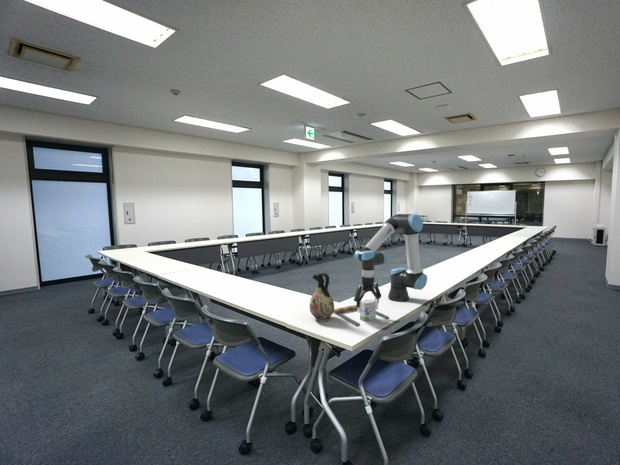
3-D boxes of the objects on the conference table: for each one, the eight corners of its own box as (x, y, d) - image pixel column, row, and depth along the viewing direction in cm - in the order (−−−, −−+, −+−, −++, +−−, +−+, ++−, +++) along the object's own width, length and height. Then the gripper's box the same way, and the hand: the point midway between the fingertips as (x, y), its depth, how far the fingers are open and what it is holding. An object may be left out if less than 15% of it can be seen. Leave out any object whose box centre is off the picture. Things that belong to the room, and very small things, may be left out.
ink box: (371, 317, 188) (371, 298, 187) (376, 319, 183) (376, 301, 182) (359, 319, 185) (359, 300, 184) (364, 322, 180) (364, 302, 179)
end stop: (363, 306, 207) (363, 303, 207) (366, 308, 205) (366, 304, 205) (333, 313, 196) (333, 309, 196) (335, 314, 193) (335, 310, 193)
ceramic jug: (304, 319, 186) (303, 271, 183) (321, 312, 197) (321, 268, 194) (324, 326, 174) (324, 275, 171) (341, 319, 184) (341, 271, 182)
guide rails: (366, 308, 205) (366, 306, 205) (388, 318, 185) (388, 316, 185) (335, 314, 193) (335, 312, 193) (356, 326, 174) (356, 324, 174)
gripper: (379, 272, 191) (379, 305, 192) (347, 277, 179) (347, 312, 181) (387, 275, 184) (387, 309, 186) (355, 279, 173) (355, 315, 174)
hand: (367, 310), depth 183 cm, fingers open, 12 cm apart
